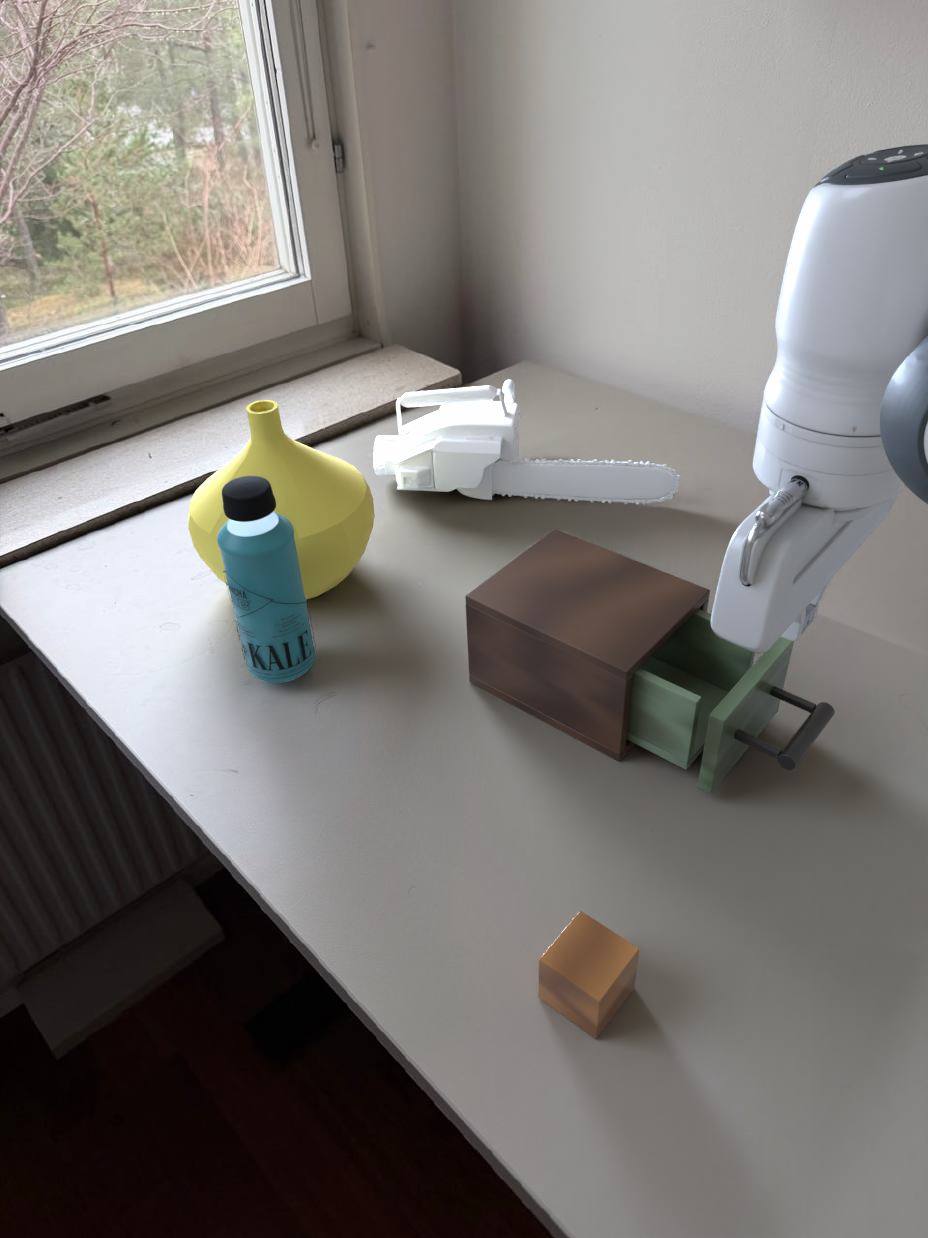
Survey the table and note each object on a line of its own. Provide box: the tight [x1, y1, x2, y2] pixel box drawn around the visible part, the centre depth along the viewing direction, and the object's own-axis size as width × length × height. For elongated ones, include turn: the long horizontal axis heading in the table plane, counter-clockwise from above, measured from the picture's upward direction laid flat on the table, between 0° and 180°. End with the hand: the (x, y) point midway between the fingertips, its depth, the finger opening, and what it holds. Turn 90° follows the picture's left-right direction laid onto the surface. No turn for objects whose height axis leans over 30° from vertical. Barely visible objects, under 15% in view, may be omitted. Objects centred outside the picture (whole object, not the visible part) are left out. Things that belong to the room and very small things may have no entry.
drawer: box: [626, 609, 836, 795], centre depth 75 cm, size 20×12×8 cm, turn 50°
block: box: [537, 910, 641, 1040], centre depth 59 cm, size 4×4×4 cm
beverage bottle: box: [217, 476, 318, 684], centre depth 80 cm, size 6×7×20 cm
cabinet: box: [464, 527, 711, 762], centre depth 81 cm, size 16×13×10 cm
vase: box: [187, 399, 376, 601], centre depth 92 cm, size 18×18×19 cm
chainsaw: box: [372, 379, 681, 505], centre depth 108 cm, size 15×35×12 cm, turn 82°
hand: (793, 627), depth 64 cm, fingers closed
